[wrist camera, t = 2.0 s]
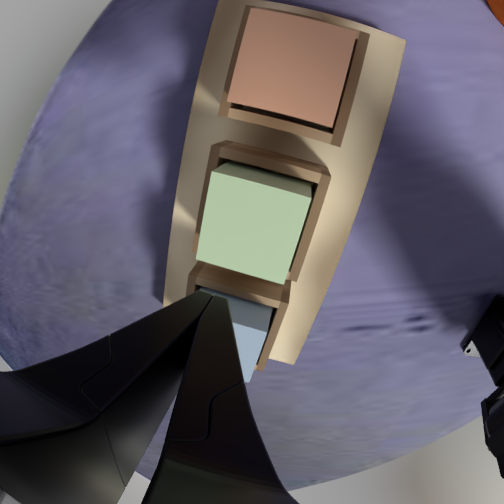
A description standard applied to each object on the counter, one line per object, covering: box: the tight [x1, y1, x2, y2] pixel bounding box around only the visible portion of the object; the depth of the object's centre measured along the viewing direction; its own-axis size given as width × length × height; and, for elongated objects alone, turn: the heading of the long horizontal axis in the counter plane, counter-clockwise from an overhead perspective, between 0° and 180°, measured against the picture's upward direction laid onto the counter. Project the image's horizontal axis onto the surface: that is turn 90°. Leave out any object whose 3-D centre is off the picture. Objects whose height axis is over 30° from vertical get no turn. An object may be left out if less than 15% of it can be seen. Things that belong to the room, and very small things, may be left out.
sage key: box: [196, 161, 312, 285], centre depth 15 cm, size 4×4×3 cm
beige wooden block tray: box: [163, 0, 406, 372], centre depth 18 cm, size 11×24×5 cm, turn 167°
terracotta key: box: [227, 8, 357, 128], centre depth 12 cm, size 4×4×3 cm
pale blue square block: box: [200, 286, 272, 383], centre depth 19 cm, size 4×4×3 cm
